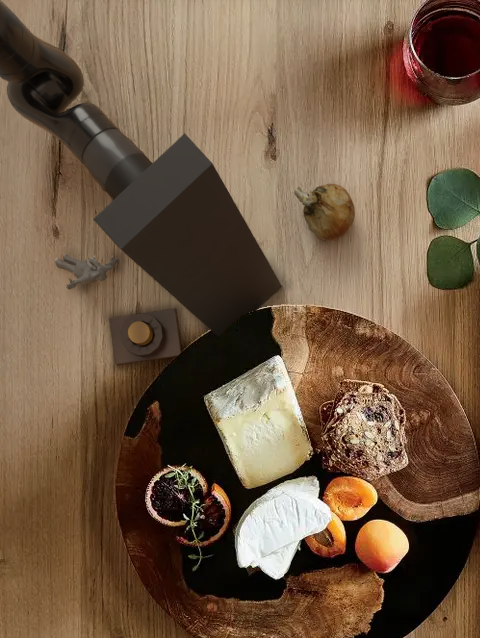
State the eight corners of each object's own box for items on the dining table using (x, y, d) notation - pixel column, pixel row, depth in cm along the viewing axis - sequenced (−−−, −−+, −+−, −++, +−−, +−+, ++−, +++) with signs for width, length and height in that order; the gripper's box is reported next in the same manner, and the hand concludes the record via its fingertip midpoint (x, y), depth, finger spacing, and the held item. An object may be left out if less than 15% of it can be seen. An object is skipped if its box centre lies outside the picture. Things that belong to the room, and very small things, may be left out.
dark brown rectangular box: (151, 262, 123) (8, 127, 79) (210, 207, 122) (99, 40, 78) (223, 341, 122) (120, 249, 78) (282, 286, 122) (212, 163, 78)
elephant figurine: (83, 229, 123) (126, 246, 120) (91, 266, 127) (134, 283, 124) (29, 255, 117) (73, 273, 113) (40, 293, 121) (83, 312, 118)
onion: (314, 254, 122) (308, 236, 114) (297, 202, 122) (290, 181, 114) (363, 237, 122) (360, 218, 114) (346, 186, 122) (342, 164, 114)
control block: (117, 365, 123) (111, 362, 120) (110, 318, 123) (104, 315, 120) (182, 356, 123) (178, 353, 120) (176, 309, 123) (172, 305, 120)
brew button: (132, 346, 121) (129, 344, 119) (130, 325, 121) (126, 322, 119) (154, 343, 120) (151, 341, 119) (151, 322, 120) (148, 319, 119)
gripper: (76, 197, 111) (157, 285, 111) (153, 125, 111) (234, 213, 110) (97, 217, 118) (173, 299, 118) (169, 149, 118) (245, 232, 118)
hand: (202, 258), depth 114 cm, fingers open, 8 cm apart
